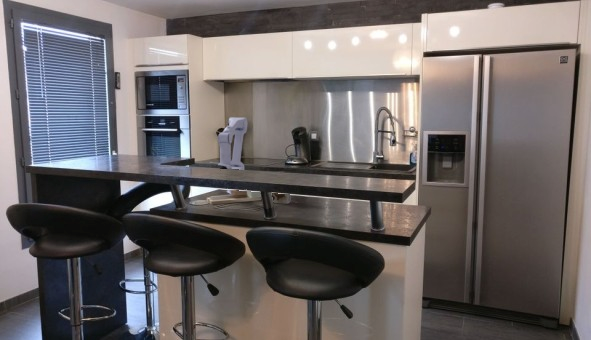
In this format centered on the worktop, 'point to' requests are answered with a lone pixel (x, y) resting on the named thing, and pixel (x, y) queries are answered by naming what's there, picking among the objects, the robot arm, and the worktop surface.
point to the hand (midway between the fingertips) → (225, 180)
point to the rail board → (229, 199)
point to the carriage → (239, 193)
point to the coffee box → (281, 195)
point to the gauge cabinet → (253, 194)
